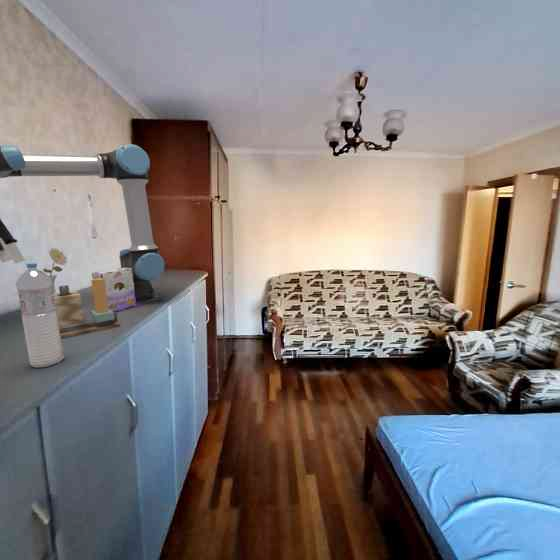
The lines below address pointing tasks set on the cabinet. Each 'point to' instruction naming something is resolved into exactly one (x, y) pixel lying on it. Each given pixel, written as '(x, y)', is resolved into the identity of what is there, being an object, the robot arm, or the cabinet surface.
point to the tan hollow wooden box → (69, 308)
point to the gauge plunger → (64, 290)
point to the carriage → (100, 302)
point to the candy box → (118, 288)
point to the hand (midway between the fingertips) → (14, 261)
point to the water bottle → (39, 317)
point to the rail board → (83, 331)
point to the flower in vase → (59, 259)
